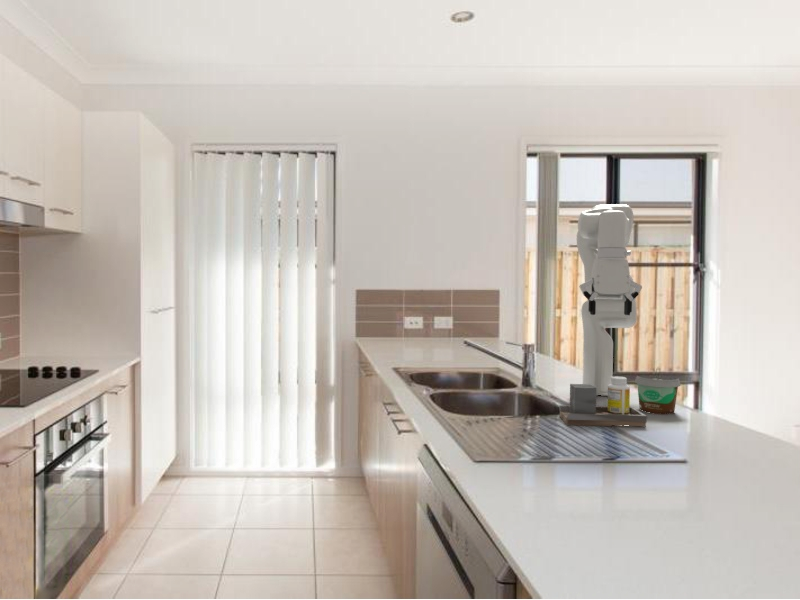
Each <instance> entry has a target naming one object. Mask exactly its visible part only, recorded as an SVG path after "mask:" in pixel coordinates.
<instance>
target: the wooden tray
mask: <svg viewBox="0 0 800 600" xmlns="http://www.w3.org/2000/svg"><path fill="white" fill-rule="evenodd" d="M607 408H608V405H607V406H605V405H602V406H601V405H597V395H596V387H594V386H593V385H591V384H583V383H570V384H569V404H568V405H565V404H564V405H563V404H561V405H559V407H558V409H559V417H560V418H561V419H562V420H563V422H564V423H565V424H566V425H567V426H588V427H589V426H590V427H591V426H592V427H596V426H597V427H612V426H611V425H615V426H614V427H618V426H617V425H622V426H621V427H625V426H624V425H629V426H645V427H644V428H646V427H647V421H648V420H647V419H648V418H647V417H648V416H647V414H644V413H643V412H642V411H641V410H640V411H639V410H638V409H637V408H635V407H634V406H629V415H627V414H608V413H607Z"/></svg>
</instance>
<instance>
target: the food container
mask: <svg viewBox="0 0 800 600" xmlns="http://www.w3.org/2000/svg"><path fill="white" fill-rule="evenodd" d="M634 384H637V393H638V405H639V410H640V409H641V410H643V411H646V412H645V413H647V412H650V413H649V414H652V413H654V415H672V414H675V412H676V411H675V409H676V403H677V397H678V389H679V387H681V386H682V385H681V380H680V378H676V379H662V378H647V377H642V376H638V375H636V377H635V381H634ZM641 410H640V411H641ZM643 411H642V412H643Z"/></svg>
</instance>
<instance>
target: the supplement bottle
mask: <svg viewBox="0 0 800 600" xmlns="http://www.w3.org/2000/svg"><path fill="white" fill-rule="evenodd" d="M627 381H628V379H627V377H625V376H618V375H617V376H612V377H611V383H612V384H609V385H608V396H607V406H608V408H607V413H608V414H627V415H629V407H630V402H631V401H630V399H631V398H630V396H631V395H630V393H631V391H630V390H631V387H630V386H629V385H628V382H627Z"/></svg>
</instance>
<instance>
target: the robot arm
mask: <svg viewBox="0 0 800 600" xmlns="http://www.w3.org/2000/svg"><path fill="white" fill-rule="evenodd" d="M633 225H634V211H633V209H632V207H631V206H630V205H627V204H623V203H622V204H617V203H616V204H598V205H594V206H592V208H590V209H589V210H585V211H582V212H581V213H580V214H579V217H578V220H577V229H578V230H577V233H576V246H577V248H576V249H577V251H578V253H579V254H578V255H579V257H580V259H581V262H582V264H583V270H584V282H583V283H582V284H579V289H580V291H581V293H582V295H583V296H584V297H585V298H586V301H584V302H583V304H582V305H581V309H580V311H581V321H582V330H583V333H582V334H583V341H582V342H583V344H582V345H583V348H582V349H583V350H582V351H583V352H582V356H583V357H582V384H591V385H593V386H594V387H596V396H598V395H601V397H602V396H603V397H604V396H605V397H608V385H609V384H612V383H611V377H613V371H614V369H613V363H614V358H613V357H614V341H613V338H612V337H611V335H610V334H609V333H608V331H606V329H611V328H614V329H629V328H632V327H634V326H635V325H636V323H637V317H638V313H637V311H638V309H637V301H636V298H637V297H638V296H639V295H640V294H639V293H640V292H641V291H642V289H643V286H642V285H641V284H639V283H637V282H635V281H634V279H633V276H632V275H630V266H629V260H628V259H626V258H627V257H628V256H629V257H630V256H631V250H627V246H628V245H629V243H630V239H631V238H630V237H631V234H632V230H633Z"/></svg>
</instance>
